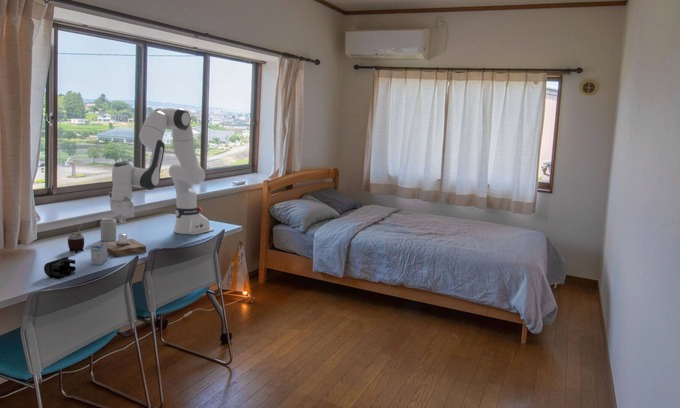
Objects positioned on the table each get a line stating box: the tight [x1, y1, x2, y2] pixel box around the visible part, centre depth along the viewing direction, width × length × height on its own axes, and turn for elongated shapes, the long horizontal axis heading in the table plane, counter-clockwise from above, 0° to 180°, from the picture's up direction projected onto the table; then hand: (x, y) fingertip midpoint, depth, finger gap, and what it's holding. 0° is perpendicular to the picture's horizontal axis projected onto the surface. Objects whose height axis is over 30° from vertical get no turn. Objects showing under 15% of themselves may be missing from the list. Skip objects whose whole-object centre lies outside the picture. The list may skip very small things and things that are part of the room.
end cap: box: [43, 256, 76, 280], centre depth 220 cm, size 10×7×7 cm
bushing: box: [117, 233, 128, 247], centre depth 260 cm, size 4×4×8 cm
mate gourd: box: [67, 222, 86, 254], centre depth 253 cm, size 8×8×15 cm
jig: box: [107, 238, 147, 258], centre depth 260 cm, size 16×16×3 cm
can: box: [99, 216, 118, 242], centre depth 274 cm, size 8×8×12 cm
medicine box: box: [90, 241, 108, 266], centre depth 239 cm, size 8×4×9 cm, turn 5°
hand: (122, 223), depth 258 cm, fingers closed
